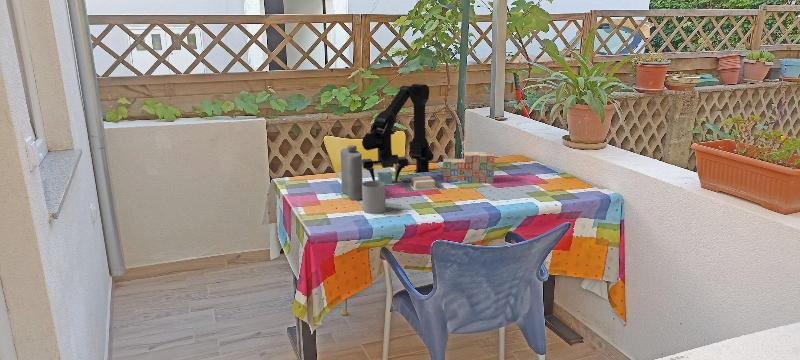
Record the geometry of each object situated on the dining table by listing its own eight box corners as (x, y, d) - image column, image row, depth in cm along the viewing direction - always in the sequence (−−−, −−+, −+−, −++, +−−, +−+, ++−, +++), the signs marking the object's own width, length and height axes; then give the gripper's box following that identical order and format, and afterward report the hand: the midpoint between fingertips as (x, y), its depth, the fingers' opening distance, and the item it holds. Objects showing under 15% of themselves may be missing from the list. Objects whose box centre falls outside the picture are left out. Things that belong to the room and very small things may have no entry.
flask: (366, 199, 225) (365, 149, 219) (352, 201, 223) (350, 150, 217) (354, 189, 238) (352, 141, 233) (340, 190, 236) (338, 142, 230)
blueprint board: (400, 185, 242) (400, 183, 242) (437, 183, 245) (437, 180, 245) (407, 194, 231) (407, 191, 231) (445, 191, 234) (445, 188, 234)
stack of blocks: (442, 183, 246) (442, 154, 242) (442, 179, 252) (443, 151, 248) (493, 183, 244) (494, 155, 240) (492, 179, 250) (493, 151, 246)
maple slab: (411, 184, 241) (411, 177, 240) (429, 182, 242) (429, 175, 242) (415, 189, 233) (415, 182, 232) (434, 188, 235) (434, 180, 234)
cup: (362, 206, 216) (361, 181, 214) (384, 206, 217) (384, 180, 214) (363, 214, 208) (362, 187, 206) (386, 213, 209) (385, 186, 206)
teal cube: (378, 183, 246) (377, 172, 244) (389, 183, 247) (389, 171, 245) (380, 187, 241) (380, 175, 240) (392, 186, 242) (392, 174, 241)
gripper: (365, 151, 230) (366, 189, 234) (410, 149, 233) (411, 186, 238) (360, 145, 240) (362, 181, 245) (404, 143, 244) (405, 178, 248)
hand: (385, 182), depth 244 cm, fingers open, 9 cm apart
